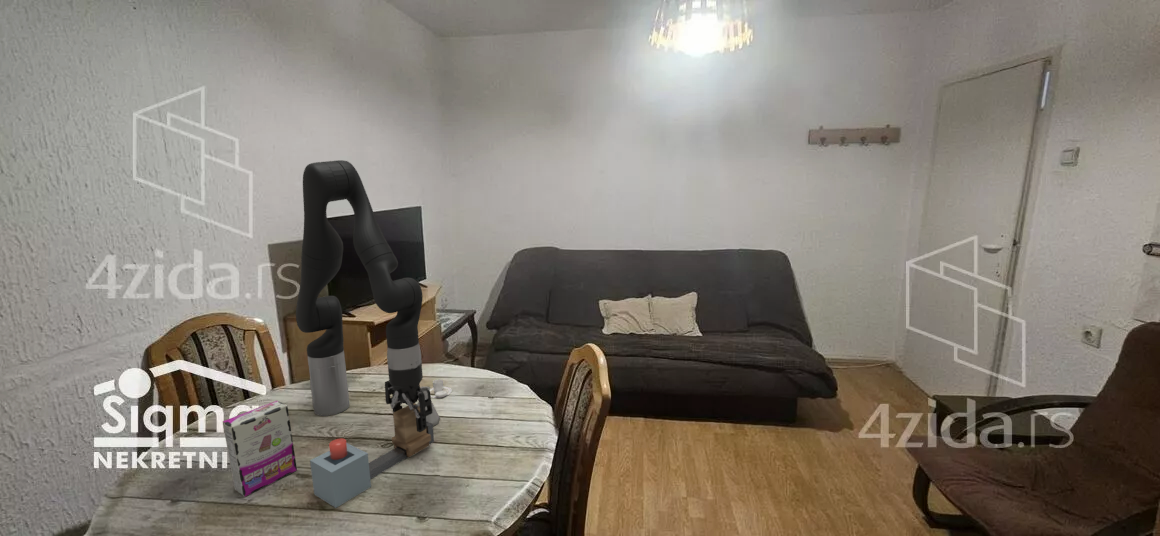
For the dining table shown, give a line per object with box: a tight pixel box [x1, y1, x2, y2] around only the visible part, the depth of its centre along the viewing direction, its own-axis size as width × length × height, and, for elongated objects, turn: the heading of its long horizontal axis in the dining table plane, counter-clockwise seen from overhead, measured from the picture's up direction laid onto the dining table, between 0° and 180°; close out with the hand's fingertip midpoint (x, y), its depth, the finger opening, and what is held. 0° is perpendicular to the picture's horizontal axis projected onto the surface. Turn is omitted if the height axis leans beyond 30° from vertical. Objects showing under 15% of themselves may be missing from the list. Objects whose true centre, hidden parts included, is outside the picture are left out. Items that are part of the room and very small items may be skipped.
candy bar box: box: [222, 400, 298, 498], centre depth 105 cm, size 11×5×16 cm, turn 148°
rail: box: [369, 421, 435, 480], centre depth 114 cm, size 3×20×5 cm, turn 148°
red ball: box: [328, 437, 347, 460], centre depth 101 cm, size 3×3×3 cm
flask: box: [417, 386, 441, 427], centre depth 130 cm, size 7×7×10 cm
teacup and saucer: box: [429, 378, 453, 399], centre depth 149 cm, size 9×8×4 cm
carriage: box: [391, 403, 431, 458], centre depth 116 cm, size 7×6×10 cm
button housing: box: [309, 442, 372, 509], centre depth 102 cm, size 8×8×8 cm
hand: (410, 425), depth 116 cm, fingers open, 8 cm apart
